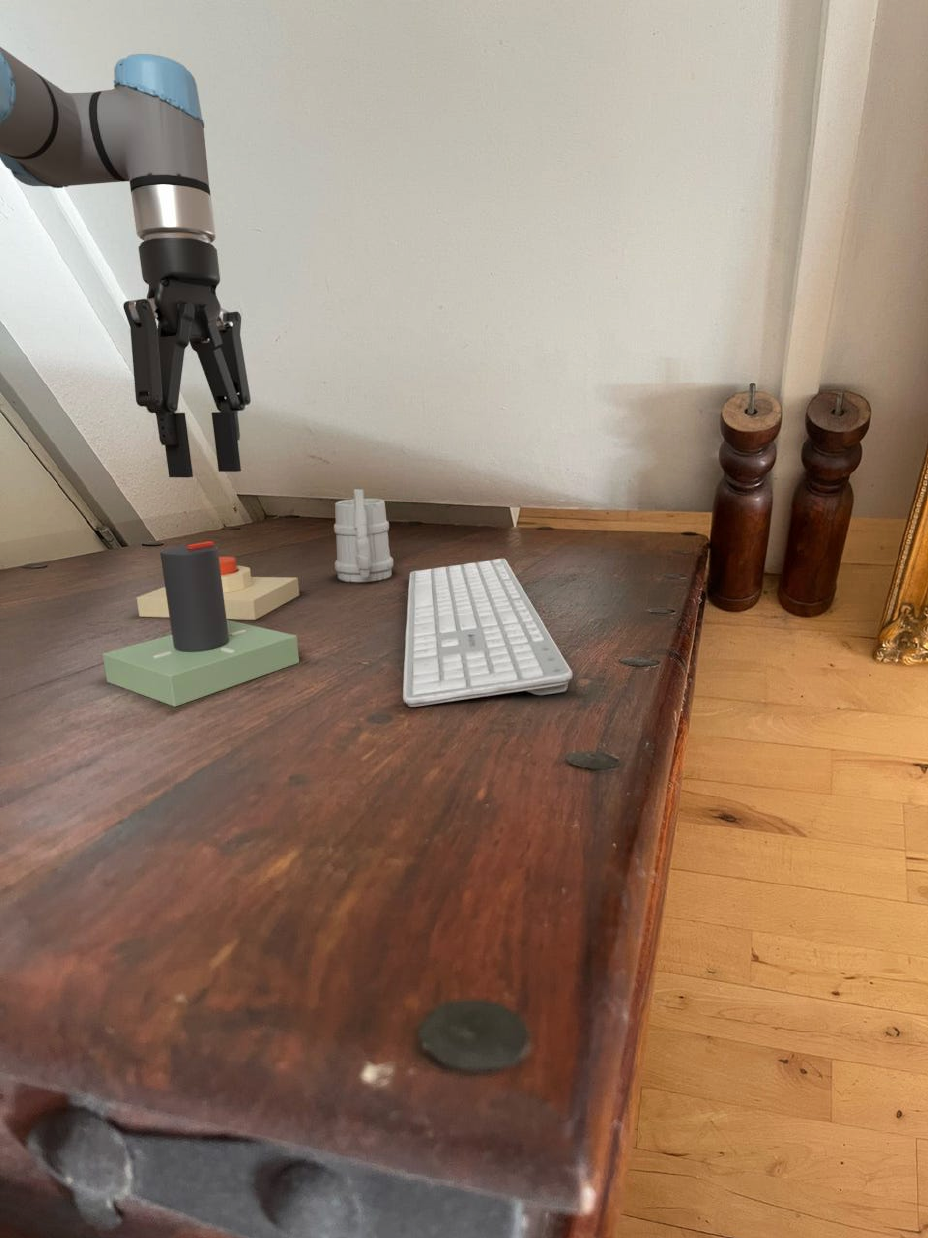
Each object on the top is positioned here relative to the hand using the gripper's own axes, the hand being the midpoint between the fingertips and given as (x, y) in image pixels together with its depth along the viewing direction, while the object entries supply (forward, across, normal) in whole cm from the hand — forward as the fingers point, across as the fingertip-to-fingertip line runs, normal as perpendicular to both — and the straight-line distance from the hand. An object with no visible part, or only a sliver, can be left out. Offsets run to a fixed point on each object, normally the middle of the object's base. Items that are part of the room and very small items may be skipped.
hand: (206, 473), depth 82 cm
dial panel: (+15, +18, +16) cm, 28 cm away
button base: (+15, 0, 0) cm, 15 cm away
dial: (+12, +18, +16) cm, 27 cm away
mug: (+15, -17, +8) cm, 24 cm away
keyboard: (+15, -3, +30) cm, 34 cm away
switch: (+11, 0, 0) cm, 11 cm away
